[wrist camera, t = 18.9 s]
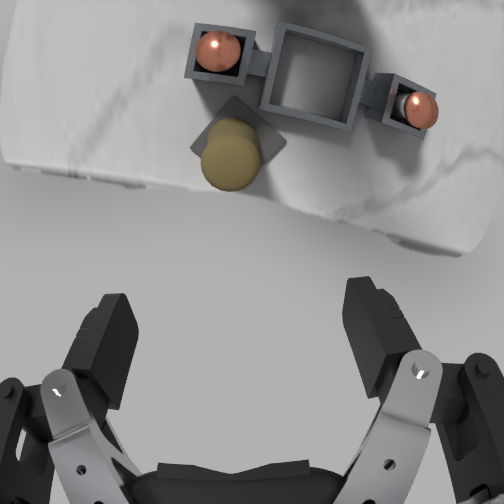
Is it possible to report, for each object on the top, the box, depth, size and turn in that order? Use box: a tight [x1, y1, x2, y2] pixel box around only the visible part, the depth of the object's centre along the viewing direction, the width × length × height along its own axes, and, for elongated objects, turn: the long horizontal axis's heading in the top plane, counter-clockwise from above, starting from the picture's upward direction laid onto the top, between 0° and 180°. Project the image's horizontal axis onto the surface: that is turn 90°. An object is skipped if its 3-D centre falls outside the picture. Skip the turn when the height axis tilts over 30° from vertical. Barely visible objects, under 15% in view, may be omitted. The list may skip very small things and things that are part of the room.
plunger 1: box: [195, 31, 240, 72], centre depth 25 cm, size 4×4×7 cm
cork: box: [201, 117, 260, 192], centre depth 29 cm, size 6×6×11 cm
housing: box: [184, 21, 436, 139], centre depth 28 cm, size 27×11×5 cm, turn 79°
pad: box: [190, 97, 286, 167], centre depth 34 cm, size 8×8×1 cm
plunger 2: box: [391, 92, 438, 129], centre depth 28 cm, size 4×4×7 cm
